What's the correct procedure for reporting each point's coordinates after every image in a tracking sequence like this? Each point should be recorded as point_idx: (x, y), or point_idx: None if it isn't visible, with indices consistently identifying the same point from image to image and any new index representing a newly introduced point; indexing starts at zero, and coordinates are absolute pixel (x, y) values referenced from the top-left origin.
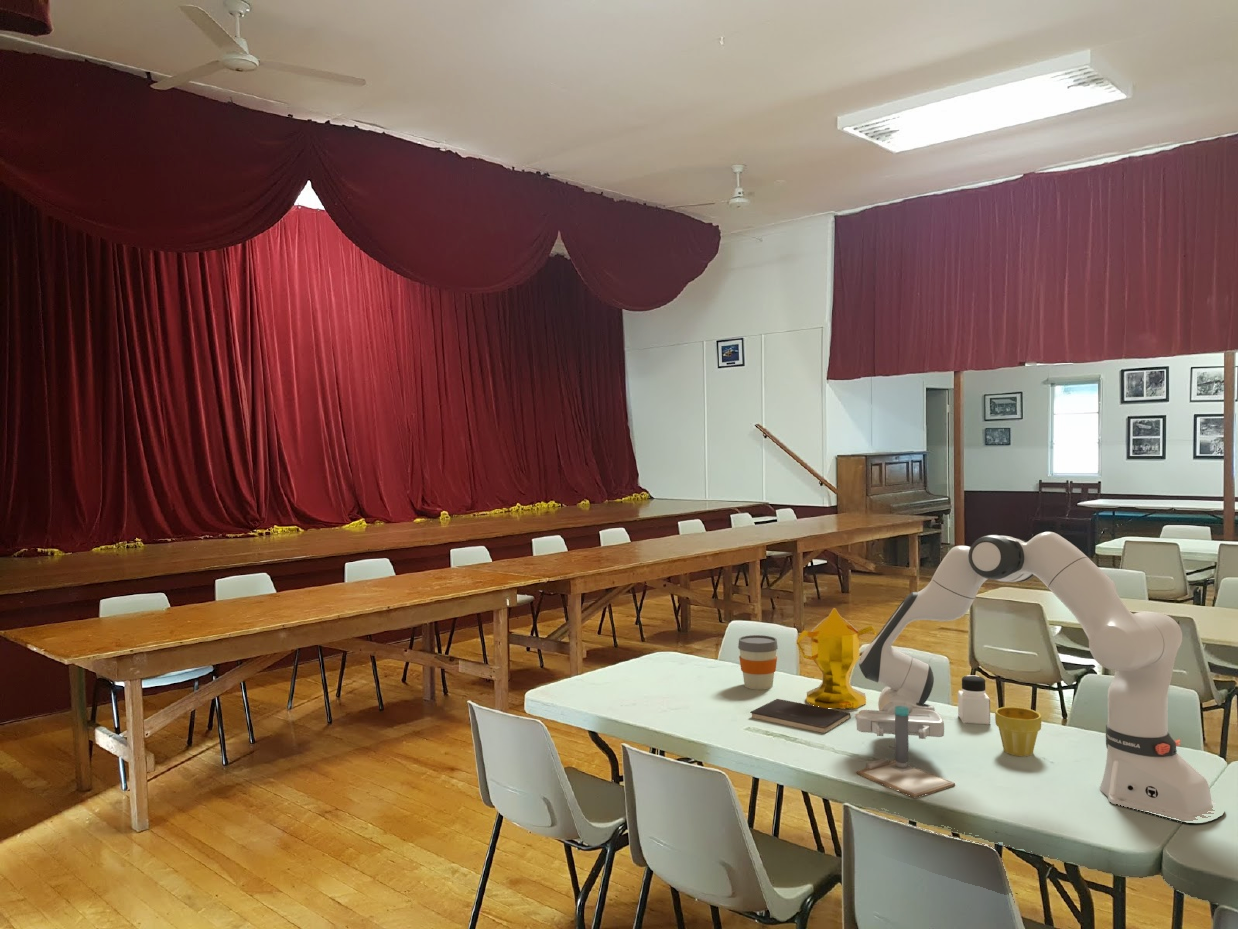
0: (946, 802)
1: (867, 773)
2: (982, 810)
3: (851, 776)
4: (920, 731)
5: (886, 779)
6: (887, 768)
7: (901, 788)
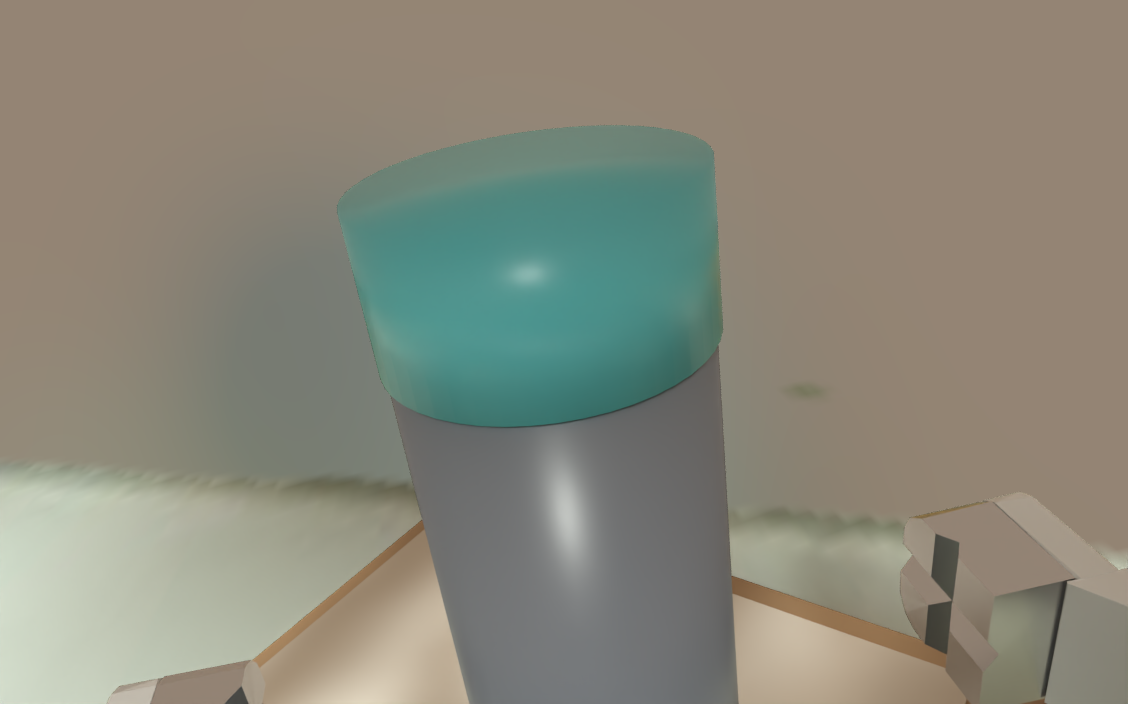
0: (271, 532)
1: (924, 665)
2: (79, 524)
3: None
4: (217, 670)
5: None
6: None
7: None
